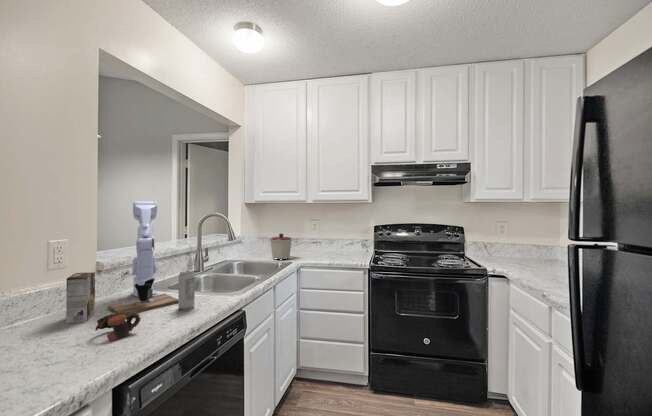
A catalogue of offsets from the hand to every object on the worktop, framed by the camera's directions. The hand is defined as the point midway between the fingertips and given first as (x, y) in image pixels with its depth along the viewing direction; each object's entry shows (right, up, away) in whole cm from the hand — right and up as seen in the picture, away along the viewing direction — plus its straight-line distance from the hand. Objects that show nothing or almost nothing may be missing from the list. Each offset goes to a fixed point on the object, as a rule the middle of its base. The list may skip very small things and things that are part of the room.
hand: (144, 298), depth 127 cm
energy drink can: (+19, -3, -3) cm, 19 cm away
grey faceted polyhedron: (0, 0, 0) cm, 0 cm away
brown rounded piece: (+9, -3, -29) cm, 31 cm away
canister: (+40, -4, +118) cm, 125 cm away
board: (0, -3, 0) cm, 3 cm away
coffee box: (-14, -3, -15) cm, 21 cm away
